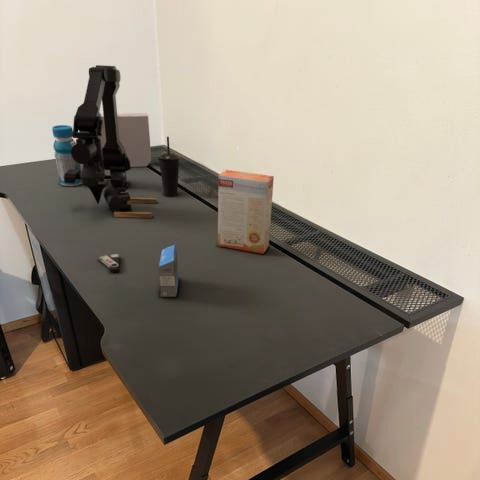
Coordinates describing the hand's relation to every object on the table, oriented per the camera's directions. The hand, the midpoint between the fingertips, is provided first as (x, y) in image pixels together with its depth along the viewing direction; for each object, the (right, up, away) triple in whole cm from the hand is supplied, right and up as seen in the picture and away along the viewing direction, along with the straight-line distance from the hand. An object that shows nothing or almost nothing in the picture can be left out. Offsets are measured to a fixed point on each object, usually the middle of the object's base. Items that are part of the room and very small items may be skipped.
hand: (98, 203), depth 151 cm
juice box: (+30, -31, -39) cm, 58 cm away
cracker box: (+48, -17, -18) cm, 54 cm away
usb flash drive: (+12, -24, -31) cm, 41 cm away
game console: (-4, +26, +41) cm, 49 cm away
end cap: (+6, -2, +1) cm, 7 cm away
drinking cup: (+22, +7, +15) cm, 27 cm away
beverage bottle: (-16, +13, +21) cm, 29 cm away
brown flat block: (+12, -2, +2) cm, 12 cm away
